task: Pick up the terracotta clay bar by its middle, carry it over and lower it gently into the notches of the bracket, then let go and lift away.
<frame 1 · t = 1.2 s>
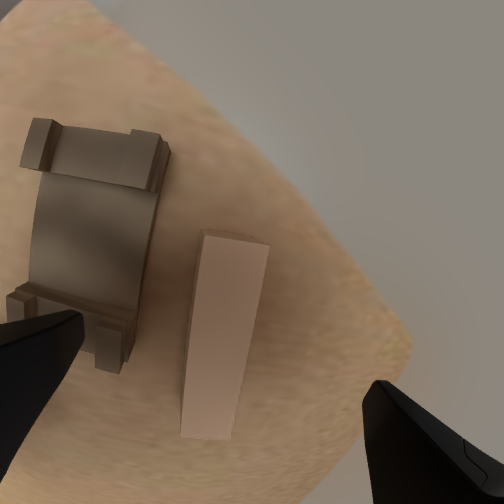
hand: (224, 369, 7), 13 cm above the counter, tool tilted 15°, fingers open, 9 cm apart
bracket: (88, 238, 18), on the counter
clay bar: (211, 326, 21), on the counter
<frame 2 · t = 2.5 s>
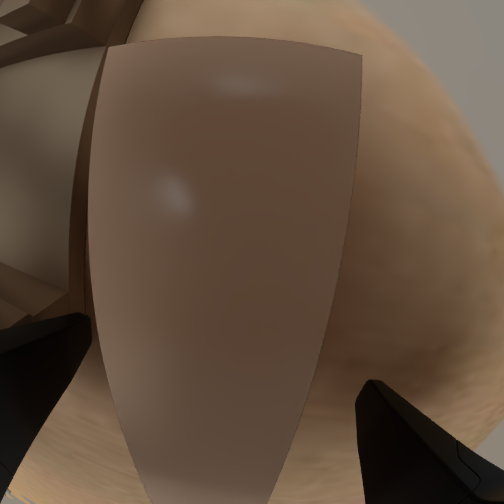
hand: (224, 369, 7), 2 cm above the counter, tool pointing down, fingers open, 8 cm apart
bracket: (14, 160, 8), on the counter
clay bar: (227, 330, 10), on the counter
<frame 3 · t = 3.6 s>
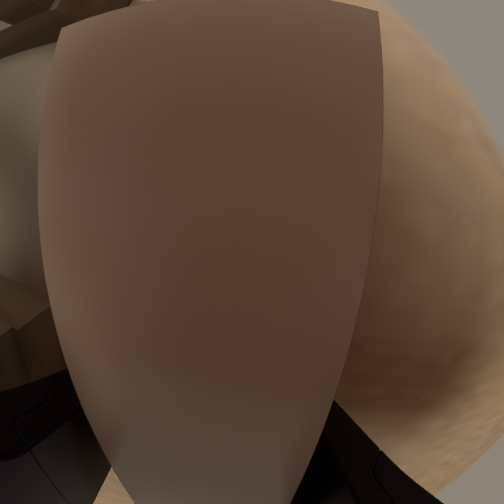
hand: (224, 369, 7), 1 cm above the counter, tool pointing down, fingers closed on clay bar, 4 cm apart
bracket: (1, 159, 7), on the counter
clay bar: (228, 346, 9), on the counter, touching gripper
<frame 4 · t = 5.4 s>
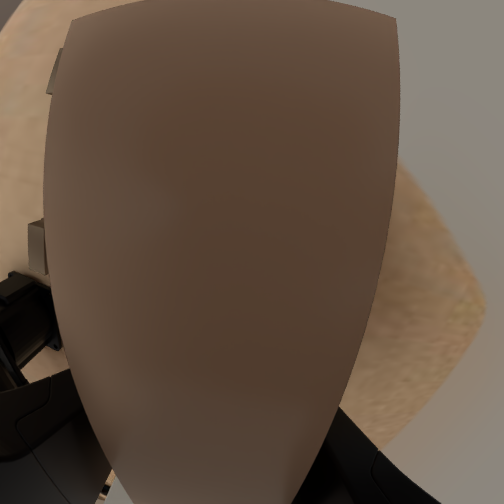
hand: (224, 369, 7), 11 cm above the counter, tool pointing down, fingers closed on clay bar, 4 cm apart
bracket: (122, 163, 17), on the counter
milk carton: (140, 488, 29), on the counter
clay bar: (229, 346, 8), point 10 cm above the counter, touching gripper
when the fingers open (6 cm above the counter, at t = 7.2 s): clay bar drops 1 cm, resting on bracket.
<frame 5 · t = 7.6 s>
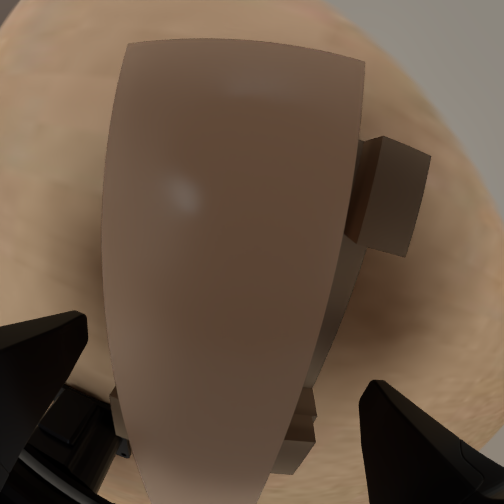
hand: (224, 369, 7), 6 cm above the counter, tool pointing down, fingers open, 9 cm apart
bracket: (241, 291, 13), on the counter
clay bar: (227, 322, 10), point 3 cm above the counter, touching bracket
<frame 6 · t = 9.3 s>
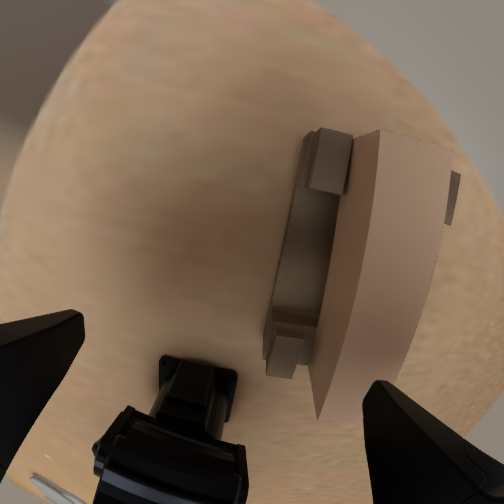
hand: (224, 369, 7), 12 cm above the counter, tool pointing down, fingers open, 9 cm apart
bracket: (348, 256, 19), on the counter
lid: (61, 491, 41), on the counter
clay bar: (357, 270, 16), point 3 cm above the counter, touching bracket
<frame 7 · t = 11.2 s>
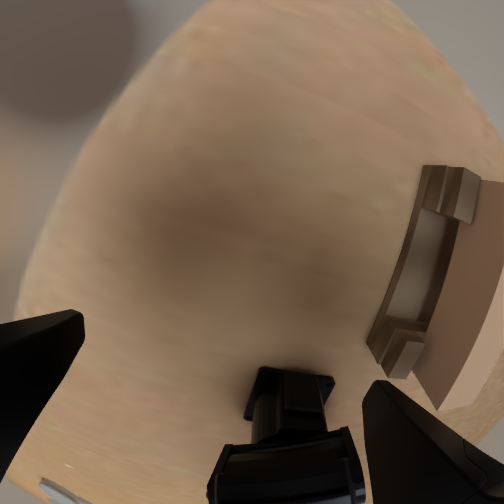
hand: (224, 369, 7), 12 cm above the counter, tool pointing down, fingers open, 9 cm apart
bracket: (442, 271, 19), on the counter
lid: (72, 497, 40), on the counter
clay bar: (461, 283, 16), point 3 cm above the counter, touching bracket
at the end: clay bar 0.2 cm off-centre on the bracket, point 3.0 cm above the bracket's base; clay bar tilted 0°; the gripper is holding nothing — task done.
